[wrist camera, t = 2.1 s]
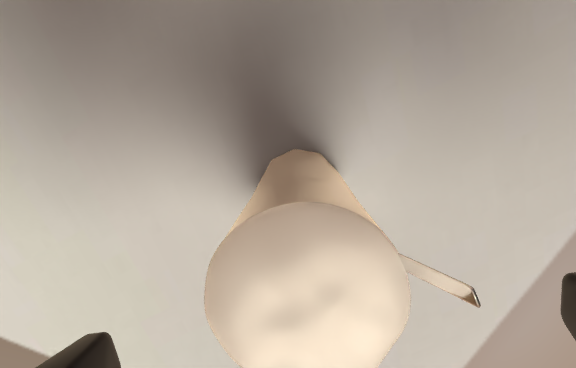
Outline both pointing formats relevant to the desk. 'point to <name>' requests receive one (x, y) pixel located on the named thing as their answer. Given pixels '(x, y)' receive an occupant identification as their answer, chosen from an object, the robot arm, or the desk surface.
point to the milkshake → (311, 275)
